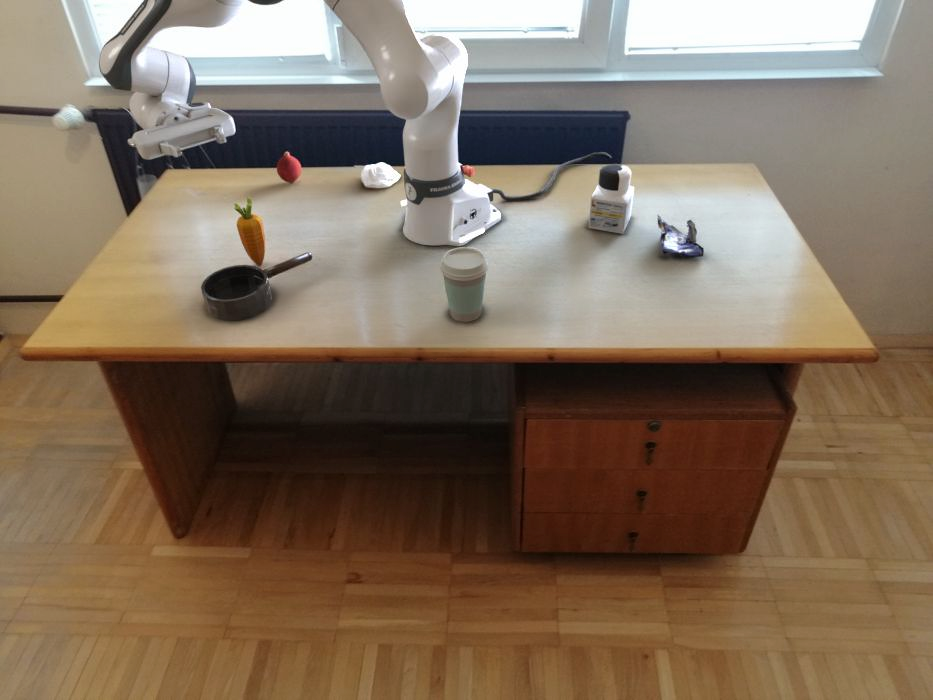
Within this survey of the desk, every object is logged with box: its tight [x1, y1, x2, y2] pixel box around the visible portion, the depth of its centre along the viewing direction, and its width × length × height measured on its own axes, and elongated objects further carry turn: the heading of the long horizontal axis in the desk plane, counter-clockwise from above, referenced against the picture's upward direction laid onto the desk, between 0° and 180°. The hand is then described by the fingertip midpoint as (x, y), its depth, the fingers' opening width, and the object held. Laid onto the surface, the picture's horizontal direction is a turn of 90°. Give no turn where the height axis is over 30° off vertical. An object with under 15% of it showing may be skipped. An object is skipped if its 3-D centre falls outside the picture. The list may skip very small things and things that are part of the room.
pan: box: [200, 264, 273, 322], centre depth 137 cm, size 12×12×4 cm
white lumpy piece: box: [360, 161, 401, 189], centre depth 176 cm, size 10×4×10 cm
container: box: [588, 163, 635, 235], centre depth 154 cm, size 8×8×13 cm
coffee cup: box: [439, 246, 489, 323], centre depth 130 cm, size 9×8×12 cm
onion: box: [276, 151, 302, 184], centre depth 175 cm, size 6×6×8 cm
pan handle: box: [259, 251, 313, 280], centre depth 142 cm, size 11×2×2 cm, turn 130°
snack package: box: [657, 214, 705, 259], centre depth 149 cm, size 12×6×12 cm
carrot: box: [234, 196, 266, 267], centre depth 143 cm, size 5×5×15 cm
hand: (200, 146), depth 144 cm, fingers open, 8 cm apart
